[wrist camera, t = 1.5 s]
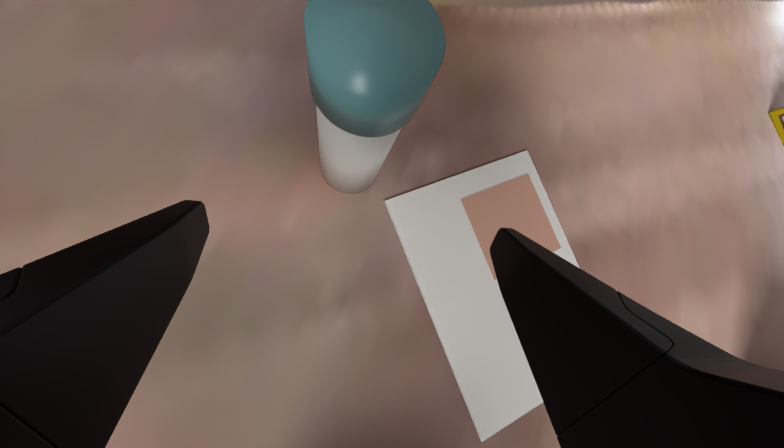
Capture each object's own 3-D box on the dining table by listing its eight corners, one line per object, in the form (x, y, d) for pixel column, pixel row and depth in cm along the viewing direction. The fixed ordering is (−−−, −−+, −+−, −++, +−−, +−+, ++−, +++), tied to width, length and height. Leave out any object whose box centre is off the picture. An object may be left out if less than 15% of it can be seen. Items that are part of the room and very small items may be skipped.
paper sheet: (615, 352, 25) (618, 353, 24) (480, 440, 21) (482, 442, 21) (525, 151, 26) (527, 149, 26) (384, 201, 22) (384, 200, 22)
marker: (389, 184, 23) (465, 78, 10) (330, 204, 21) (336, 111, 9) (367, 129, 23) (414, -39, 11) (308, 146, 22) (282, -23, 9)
